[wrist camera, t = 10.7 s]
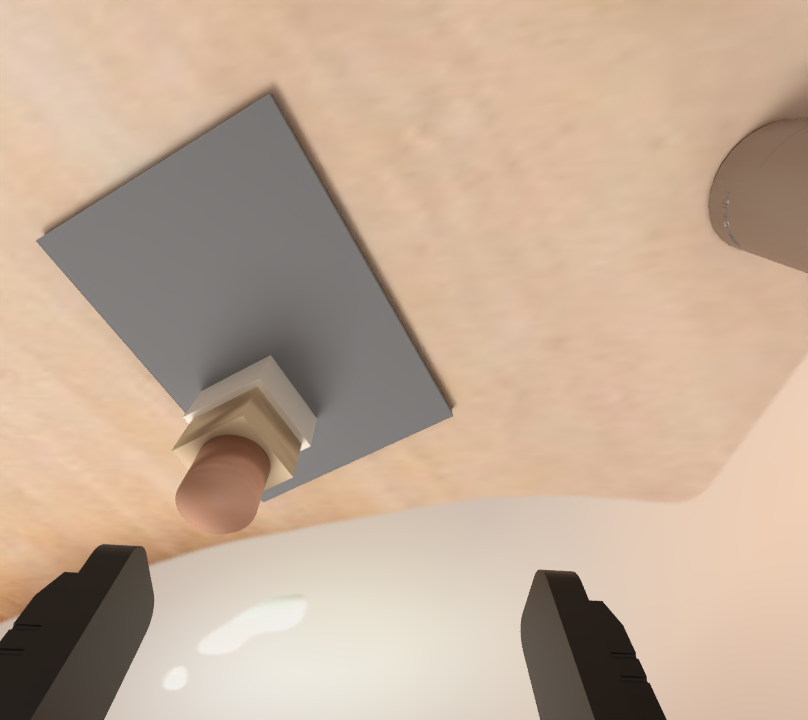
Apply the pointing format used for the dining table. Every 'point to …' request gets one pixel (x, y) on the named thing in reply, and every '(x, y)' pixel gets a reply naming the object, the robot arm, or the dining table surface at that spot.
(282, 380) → the tower base block
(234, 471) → the terracotta cylinder
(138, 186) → the mat
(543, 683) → the robot arm
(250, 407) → the tower top block
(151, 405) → the dining table surface
